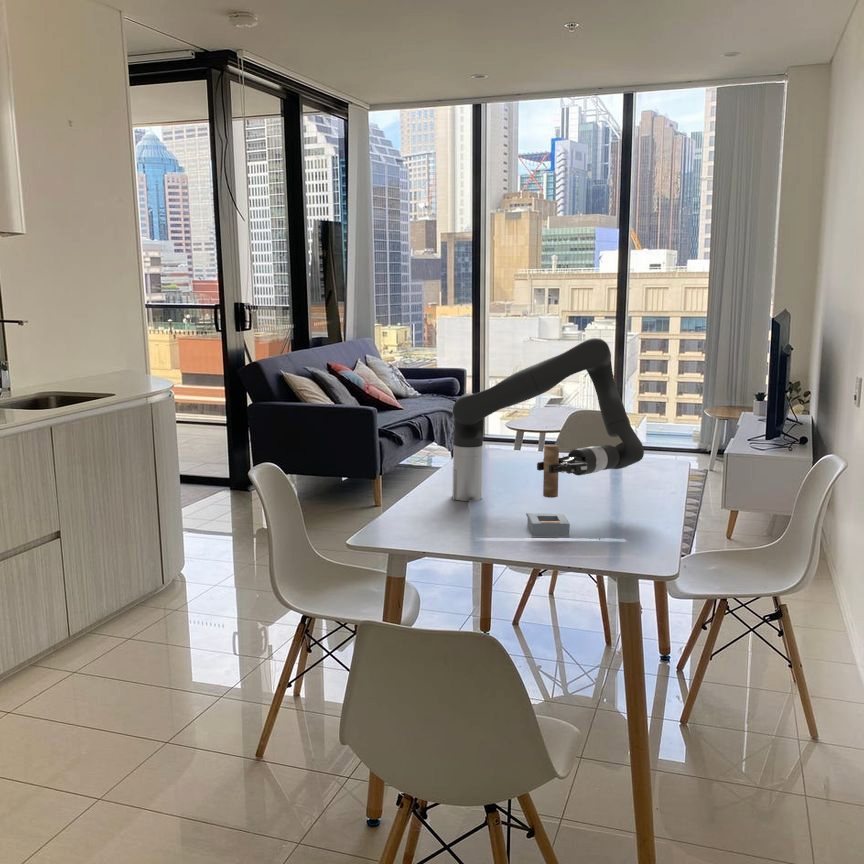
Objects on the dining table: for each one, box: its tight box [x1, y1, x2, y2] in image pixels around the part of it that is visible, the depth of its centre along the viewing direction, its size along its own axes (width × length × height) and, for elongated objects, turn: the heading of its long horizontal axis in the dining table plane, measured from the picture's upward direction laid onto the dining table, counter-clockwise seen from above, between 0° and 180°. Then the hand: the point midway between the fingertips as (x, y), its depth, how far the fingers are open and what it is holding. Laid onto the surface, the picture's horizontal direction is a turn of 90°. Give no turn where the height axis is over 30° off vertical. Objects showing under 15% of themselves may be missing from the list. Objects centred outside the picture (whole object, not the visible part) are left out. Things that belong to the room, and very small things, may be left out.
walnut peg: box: [542, 444, 560, 499], centre depth 236 cm, size 4×4×14 cm
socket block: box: [527, 513, 571, 539], centre depth 236 cm, size 10×10×4 cm
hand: (544, 468), depth 234 cm, fingers closed on walnut peg, 4 cm apart
